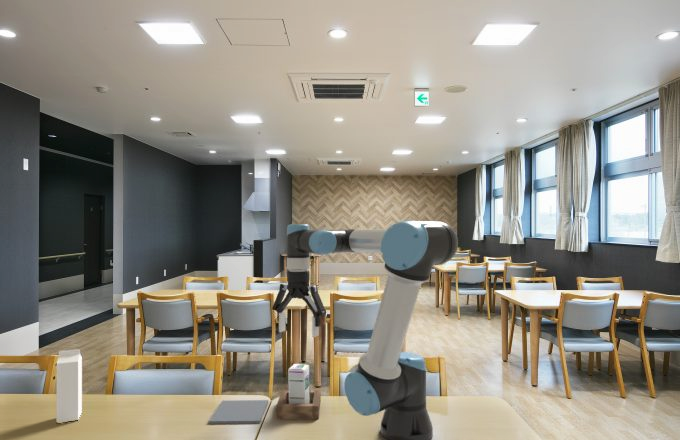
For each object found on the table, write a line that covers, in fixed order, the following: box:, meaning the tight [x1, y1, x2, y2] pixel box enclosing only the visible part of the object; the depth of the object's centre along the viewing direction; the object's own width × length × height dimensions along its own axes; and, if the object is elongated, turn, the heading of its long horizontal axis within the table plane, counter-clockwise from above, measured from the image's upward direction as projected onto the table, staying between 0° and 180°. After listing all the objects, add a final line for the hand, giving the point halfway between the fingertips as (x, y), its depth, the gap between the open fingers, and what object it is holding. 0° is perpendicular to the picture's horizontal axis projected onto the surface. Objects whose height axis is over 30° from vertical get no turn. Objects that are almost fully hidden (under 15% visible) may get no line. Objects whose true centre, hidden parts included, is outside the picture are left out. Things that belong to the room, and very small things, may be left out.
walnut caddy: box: [275, 389, 322, 420], centre depth 145 cm, size 14×14×4 cm
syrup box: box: [287, 363, 311, 404], centre depth 145 cm, size 6×6×14 cm
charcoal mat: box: [208, 399, 269, 425], centre depth 143 cm, size 16×16×1 cm
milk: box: [55, 348, 83, 422], centre depth 140 cm, size 6×6×22 cm
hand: (298, 334), depth 145 cm, fingers open, 13 cm apart
